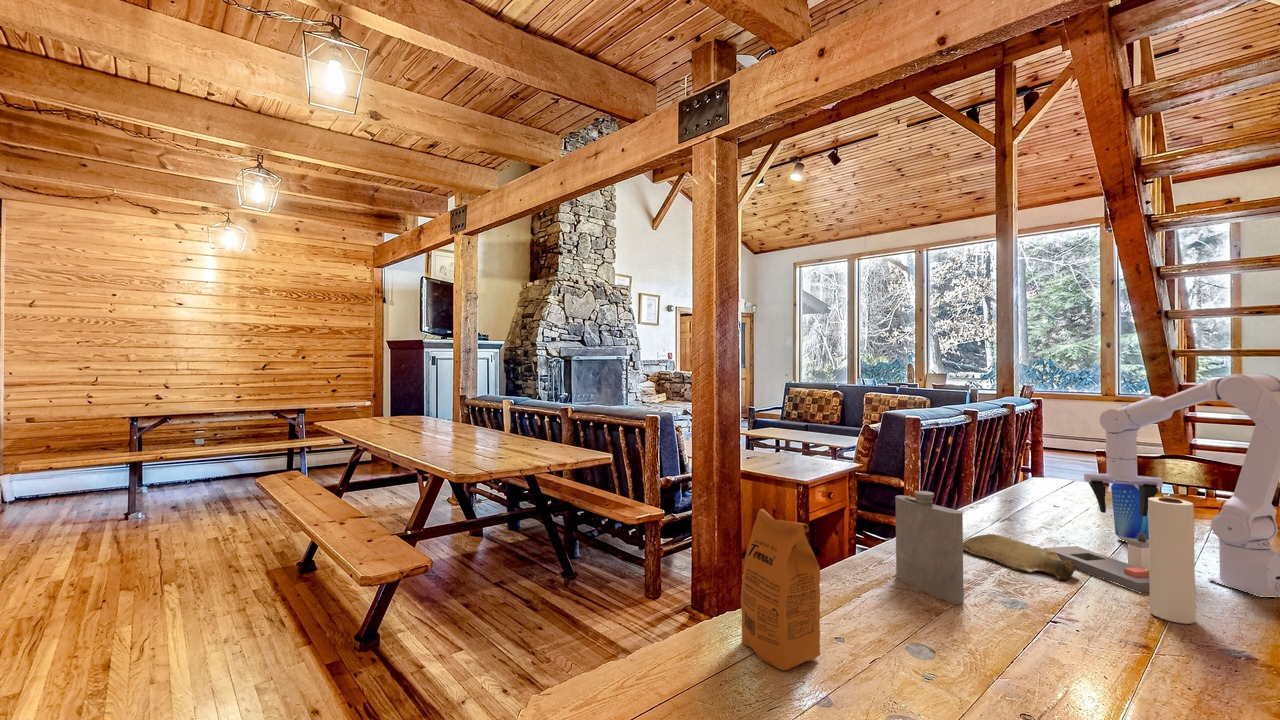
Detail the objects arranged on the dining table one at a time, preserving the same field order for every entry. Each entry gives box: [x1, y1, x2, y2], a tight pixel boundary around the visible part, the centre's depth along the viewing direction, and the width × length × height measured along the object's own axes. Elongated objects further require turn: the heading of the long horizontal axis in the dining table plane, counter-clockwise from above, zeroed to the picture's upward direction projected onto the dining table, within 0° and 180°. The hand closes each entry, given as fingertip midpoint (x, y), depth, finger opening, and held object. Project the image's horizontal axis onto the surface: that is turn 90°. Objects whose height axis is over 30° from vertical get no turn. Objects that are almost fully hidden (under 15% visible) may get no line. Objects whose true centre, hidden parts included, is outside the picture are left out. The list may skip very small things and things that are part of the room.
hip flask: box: [895, 490, 965, 605], centre depth 115 cm, size 16×4×20 cm, turn 18°
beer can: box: [1110, 480, 1149, 543], centre depth 144 cm, size 8×8×16 cm
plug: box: [1127, 533, 1149, 569], centre depth 126 cm, size 3×4×8 cm
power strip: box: [1043, 545, 1150, 593], centre depth 123 cm, size 22×9×3 cm, turn 8°
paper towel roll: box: [1148, 495, 1197, 625], centre depth 101 cm, size 7×6×21 cm
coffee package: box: [740, 508, 821, 671], centre depth 90 cm, size 10×12×22 cm
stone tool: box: [963, 533, 1078, 582], centre depth 130 cm, size 12×4×25 cm
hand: (1122, 513), depth 135 cm, fingers open, 7 cm apart
